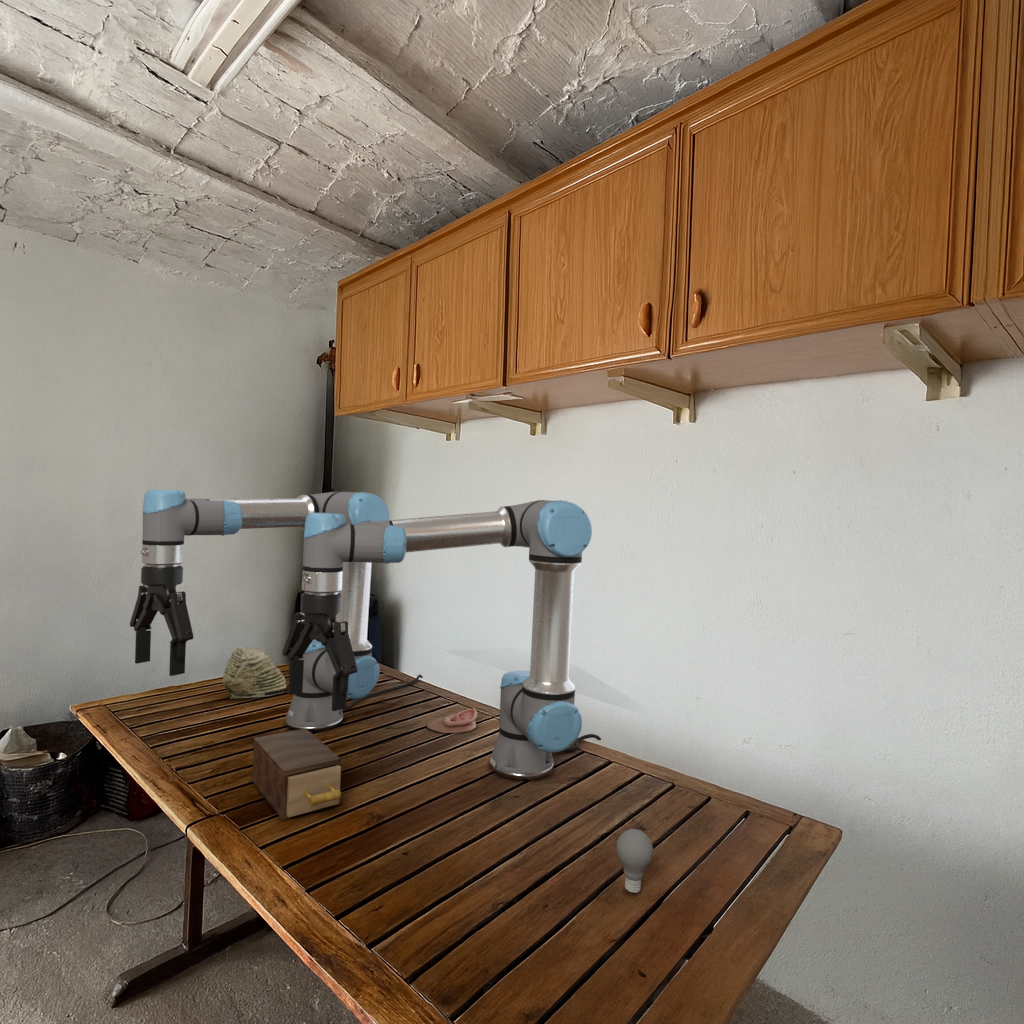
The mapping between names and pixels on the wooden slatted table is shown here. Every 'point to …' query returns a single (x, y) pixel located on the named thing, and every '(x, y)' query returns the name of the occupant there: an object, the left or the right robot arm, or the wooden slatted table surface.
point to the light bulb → (634, 857)
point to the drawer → (313, 790)
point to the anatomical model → (455, 722)
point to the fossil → (252, 674)
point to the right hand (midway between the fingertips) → (316, 701)
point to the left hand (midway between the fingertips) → (159, 668)
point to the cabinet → (287, 763)
